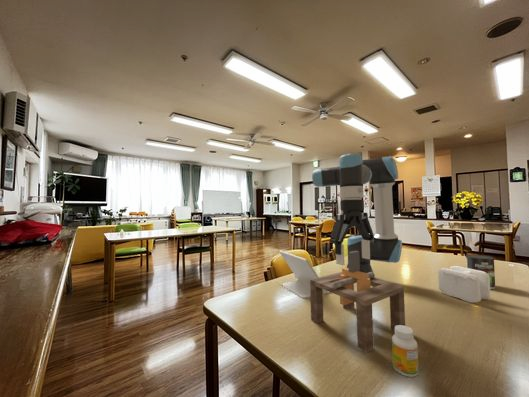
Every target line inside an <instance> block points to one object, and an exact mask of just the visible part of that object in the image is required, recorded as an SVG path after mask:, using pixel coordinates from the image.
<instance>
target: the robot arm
mask: <svg viewBox="0 0 529 397" xmlns="http://www.w3.org/2000/svg"><path fill="white" fill-rule="evenodd" d="M311 175H312V176H311V180H312V184H313V185H314V186H315V187H317V188H319V187H322V188H324V187H332V186H333V187H335V186H339V198H340V201H339V202H340V211H342V213H336V214H335V222H334V225H333V229H332V231H331V235H330V239H329V242H330V243H332V244H333V245H334V253H335V264H337V265H339V266H345V245H344V244H343V242H344V241H345V239H346V237H347V234H348V232H349V230H350V229H352V227H353V228H354V227H355V228H356V230H357V231H358V232H359V234H360V235H352V236H349V237H348V238H347V243H346V246H347V253H348V252H352V251H359V258H360V272H363V273H369V272H373V273H374V270H373V267H372V264H371V261H375V262H384V263H393V264H396V263H398V262H400V259H401V255H402V248H403V241H402V240H401V239H399V236H398V235H397V234H396V233H395V220H394V219H395V218H394V204H393V203H394V202H393V201H394V200H393V185H395V184H396V180H398V179H399V171H398V166H397V163H396V159H395V158H394V157H393V156H382V157H376V158H369V159H363V157H362V154H360V153H354V152H353V153H346V154H345V153H344V154H343V155H341V156H340V157H339V160H338V166H332V167H326V168H317V169H314V170H313V172H312V174H311ZM368 183H369V185H370V186H371V187H372V189H373V190H372V191H373V192H372V193H373V207H374V222H375V223H374V224H375V226H374V227H375V233H374V232H373V229H372V226H371V223H370V220H369V215H368V212H362V211H364V210H365V206H364V205H365V203H364V202H365V201H364V199H363V198H364V185H365V184H368ZM346 268H348V263H347V264H346Z"/></svg>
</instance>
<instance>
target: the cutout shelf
mask: <svg viewBox="0 0 529 397" xmlns="http://www.w3.org/2000/svg"><path fill="white" fill-rule="evenodd" d="M341 274H342V271H341V272H340V271H339V272H336V273H332V274H328V275H323V276H320V277H319V276H318V277H319V278H315V279H311V280H310V296H311V297H310V320H311V321H313V322H315V323H317V324H319V323H321V322H323V321H324V296H323V295H324V294H323V289H324V290H326V291H329V292H330V293H332V294H334V295H336V296H339V297H340V296H341V297H344V298H346V299H349V300H351V301H353V302H351V303H349V304H346V305H342V308H343V309H345V310H347V311H351V310H356V340H357V341H356V342H357V348H359V349H360V350H362V351H363V352H365V353H369V352H371V351H372V350H374V324H373V322H374V320H373V317H374V316H373V304H375V303H377V302H379V301H382V300H385V299H387V298H389V312H390V313H389V314H390V330H391V331H394V332H395V326H397V325H403V326H406V310H405V286H404V285H401V284H397V283H393V282H389V281H386V280H383V279H379V278H376V277H375V276H376V275H375V272H374V271H373V272H369V273H367V278H369V279H370V284H371V288H369V289H366V290H363V291H360V292H357V290H355V284H357V280H359V279H356V278H353V277H351V278H347V279H344V280H340V278H339V275H341ZM350 284H353V290H351V289H349V288H346V287H343V286H347V285H350ZM355 307H356V308H355Z"/></svg>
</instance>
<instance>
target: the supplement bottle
mask: <svg viewBox="0 0 529 397" xmlns="http://www.w3.org/2000/svg"><path fill="white" fill-rule="evenodd" d="M414 337H415V334H414V330H413V329H412V328H411V327H409V326H407V325H405V326H403V325H397V326H395V331H394V334H393V335H392V337H391V346H392V347H391V350H392V352H391V354H392V356H391V357H392V366H393V369H394V370H395V371H396V372H397V371H398V373H399V374H400V373H401V375H402V376H405V377H410V378H411V377H412V378H414V377H416V376H417V375H418V374H419V349H418V342H417V340H416V339H415V338H414Z"/></svg>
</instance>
